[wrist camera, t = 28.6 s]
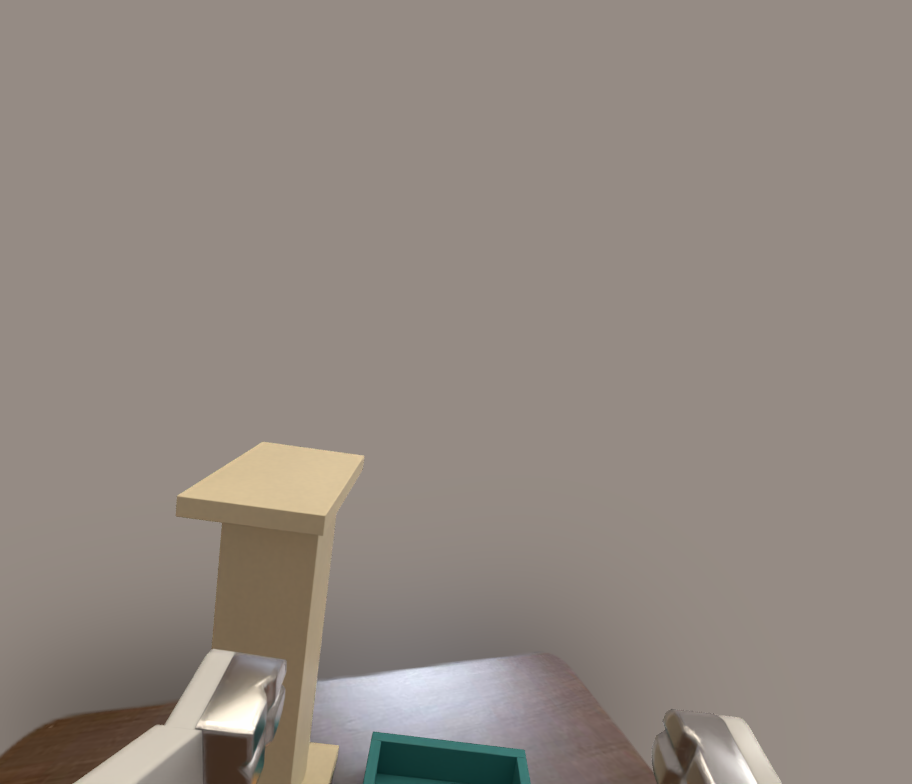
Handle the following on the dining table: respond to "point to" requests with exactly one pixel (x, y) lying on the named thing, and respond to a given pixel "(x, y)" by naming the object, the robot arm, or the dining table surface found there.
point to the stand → (278, 579)
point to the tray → (441, 762)
